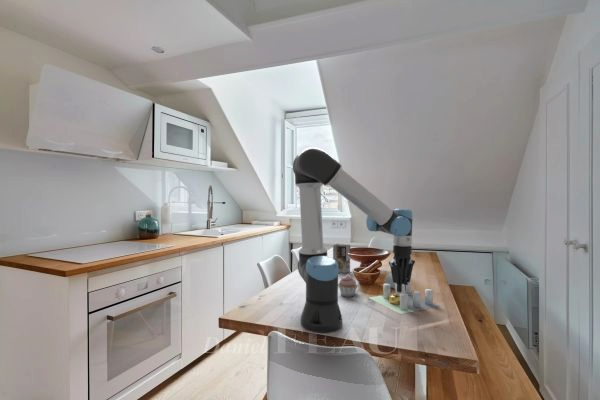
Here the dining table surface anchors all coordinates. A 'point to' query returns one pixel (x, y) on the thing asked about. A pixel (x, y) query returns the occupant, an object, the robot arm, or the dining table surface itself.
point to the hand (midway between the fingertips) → (401, 299)
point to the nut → (394, 299)
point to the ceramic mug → (390, 281)
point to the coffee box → (342, 257)
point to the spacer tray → (406, 300)
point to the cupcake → (347, 286)
